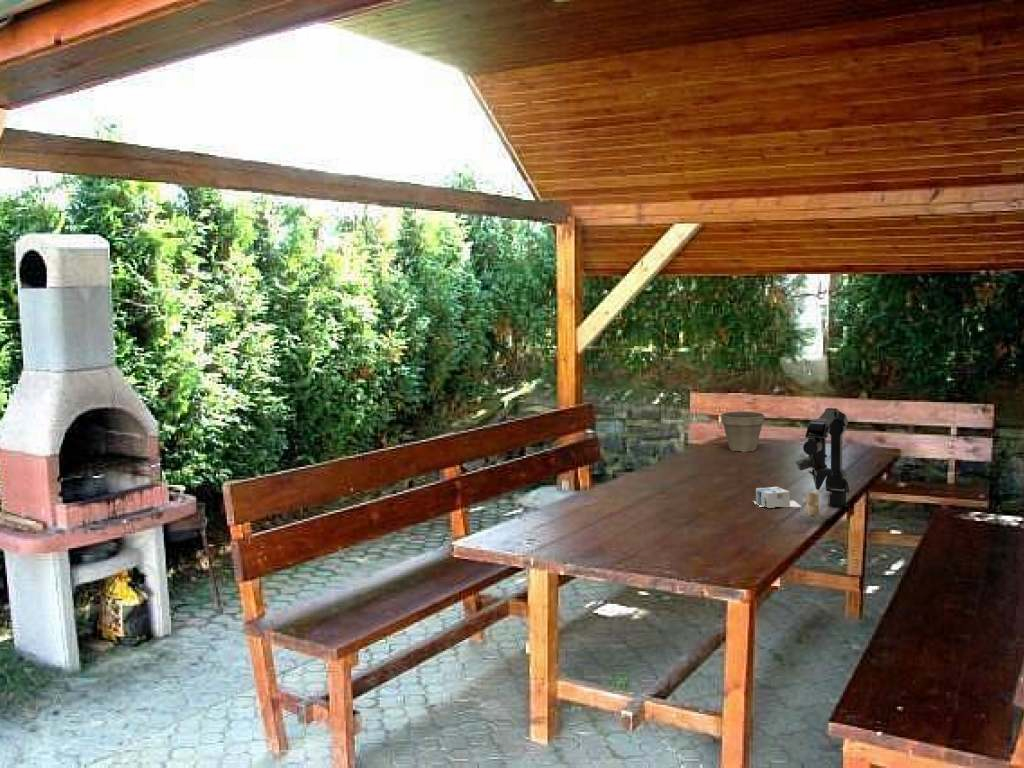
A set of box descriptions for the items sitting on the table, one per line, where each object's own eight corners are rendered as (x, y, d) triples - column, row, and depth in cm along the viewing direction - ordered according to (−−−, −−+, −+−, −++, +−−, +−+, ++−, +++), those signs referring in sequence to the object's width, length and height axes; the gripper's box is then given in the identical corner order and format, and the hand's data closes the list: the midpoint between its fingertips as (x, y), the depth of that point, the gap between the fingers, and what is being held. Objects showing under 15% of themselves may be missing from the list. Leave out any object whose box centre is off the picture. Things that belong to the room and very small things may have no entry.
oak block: (815, 513, 377) (815, 492, 377) (818, 515, 373) (819, 494, 373) (806, 513, 378) (806, 492, 377) (809, 515, 374) (809, 494, 373)
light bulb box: (768, 493, 385) (755, 487, 396) (768, 508, 386) (755, 503, 397) (790, 491, 388) (776, 486, 399) (790, 506, 389) (776, 500, 399)
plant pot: (751, 455, 517) (751, 417, 515) (713, 451, 534) (713, 414, 532) (771, 449, 535) (772, 413, 533) (734, 445, 552) (734, 410, 550)
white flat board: (793, 501, 400) (793, 500, 400) (801, 507, 388) (801, 506, 388) (752, 502, 400) (752, 501, 400) (759, 508, 389) (759, 507, 389)
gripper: (791, 448, 375) (791, 485, 376) (804, 455, 356) (804, 494, 357) (818, 447, 374) (818, 485, 376) (833, 455, 356) (832, 494, 357)
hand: (817, 489), depth 366 cm, fingers closed
